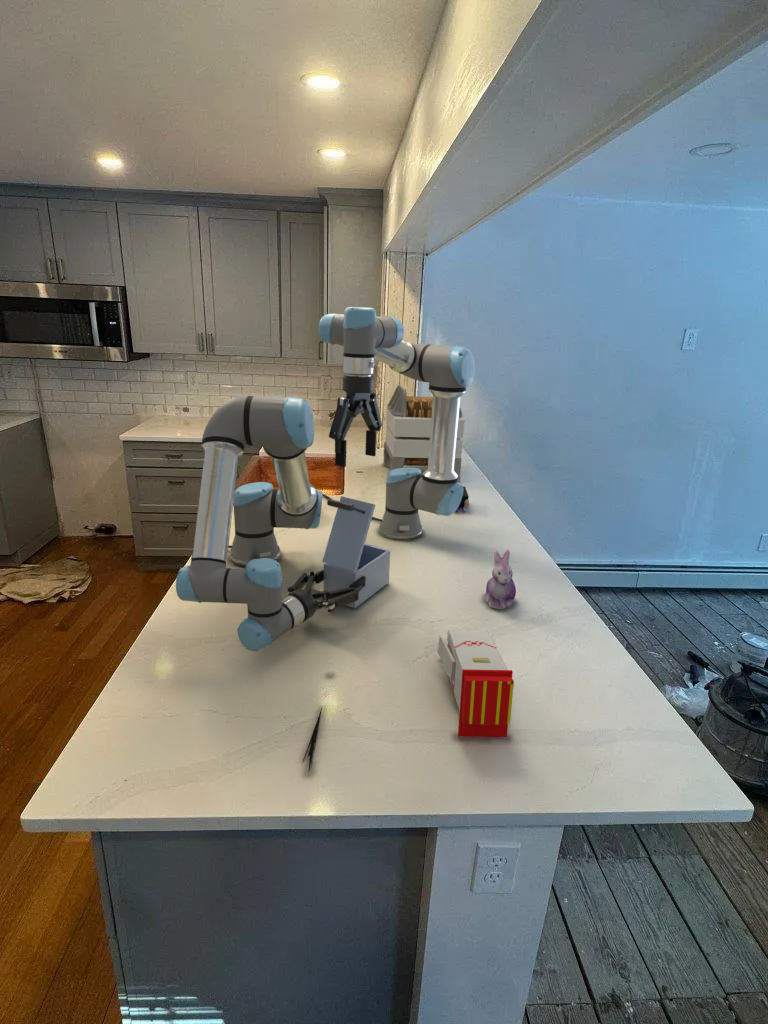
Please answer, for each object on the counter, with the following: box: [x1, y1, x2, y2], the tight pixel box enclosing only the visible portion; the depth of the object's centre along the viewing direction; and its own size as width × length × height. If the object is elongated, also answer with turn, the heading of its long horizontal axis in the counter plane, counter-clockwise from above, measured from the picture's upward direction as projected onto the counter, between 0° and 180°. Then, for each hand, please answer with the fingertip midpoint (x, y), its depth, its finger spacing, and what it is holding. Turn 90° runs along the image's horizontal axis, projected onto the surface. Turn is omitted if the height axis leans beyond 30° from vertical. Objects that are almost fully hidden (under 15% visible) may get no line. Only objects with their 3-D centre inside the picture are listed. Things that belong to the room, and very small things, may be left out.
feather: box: [301, 673, 332, 771], centre depth 108 cm, size 2×28×2 cm
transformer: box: [383, 384, 465, 483], centre depth 268 cm, size 34×33×41 cm
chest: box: [323, 543, 391, 609], centre depth 157 cm, size 18×10×10 cm, turn 149°
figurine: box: [484, 549, 517, 610], centre depth 153 cm, size 9×10×15 cm
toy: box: [437, 628, 515, 738], centre depth 117 cm, size 12×13×30 cm
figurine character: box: [455, 485, 470, 513], centre depth 227 cm, size 7×8×15 cm
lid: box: [321, 496, 376, 572], centre depth 145 cm, size 18×10×9 cm
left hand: (347, 575), depth 152 cm, fingers closed on chest, 10 cm apart
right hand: (356, 460), depth 144 cm, fingers open, 13 cm apart
